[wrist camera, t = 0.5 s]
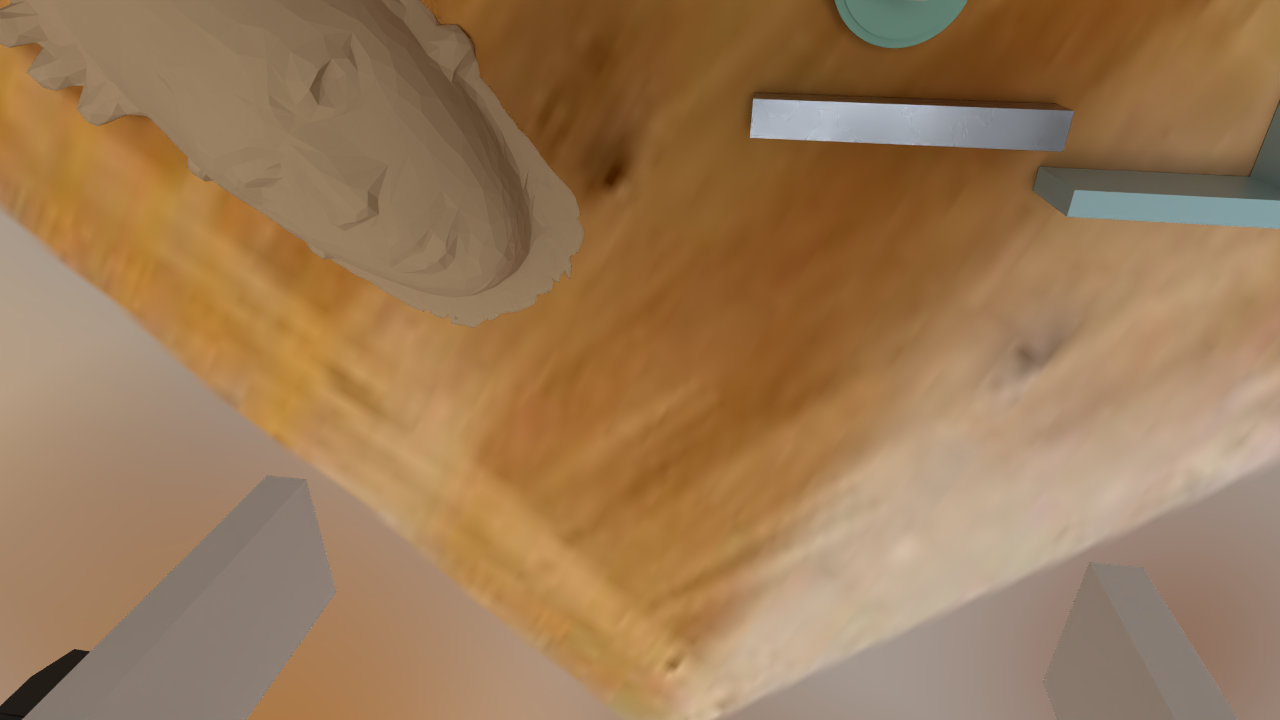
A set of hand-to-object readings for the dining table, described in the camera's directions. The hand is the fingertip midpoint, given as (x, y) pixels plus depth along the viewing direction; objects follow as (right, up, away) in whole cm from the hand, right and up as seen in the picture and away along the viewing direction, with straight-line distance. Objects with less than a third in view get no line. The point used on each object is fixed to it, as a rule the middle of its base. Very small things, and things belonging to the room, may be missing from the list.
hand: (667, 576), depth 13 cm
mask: (-15, +16, +22) cm, 31 cm away
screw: (+9, +19, +16) cm, 26 cm away
